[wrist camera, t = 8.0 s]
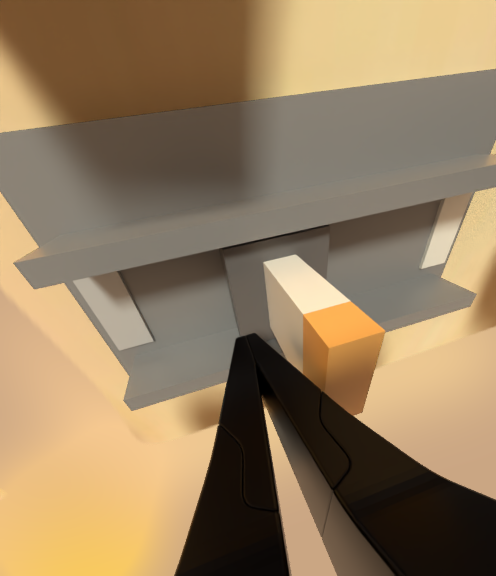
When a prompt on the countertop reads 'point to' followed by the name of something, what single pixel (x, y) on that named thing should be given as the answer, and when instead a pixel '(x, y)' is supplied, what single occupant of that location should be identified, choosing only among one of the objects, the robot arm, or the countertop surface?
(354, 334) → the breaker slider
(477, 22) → the countertop surface
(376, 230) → the housing
